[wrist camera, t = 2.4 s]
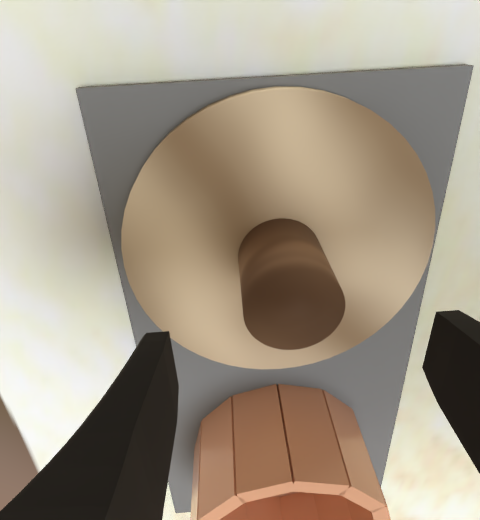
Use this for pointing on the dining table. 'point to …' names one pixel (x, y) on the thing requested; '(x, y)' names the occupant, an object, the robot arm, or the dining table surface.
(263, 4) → the dining table surface
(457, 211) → the dining table surface
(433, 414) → the dining table surface
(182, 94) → the mat
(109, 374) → the dining table surface
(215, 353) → the lid
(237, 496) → the bowl
